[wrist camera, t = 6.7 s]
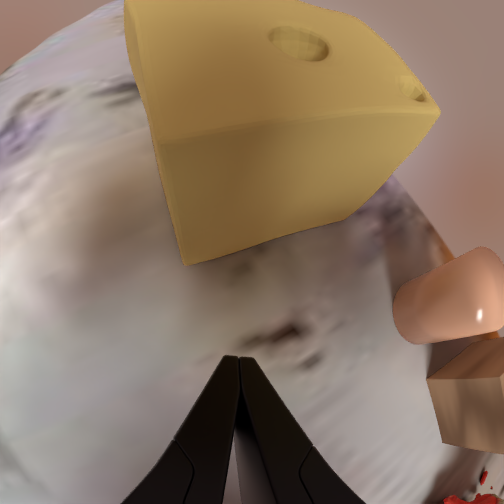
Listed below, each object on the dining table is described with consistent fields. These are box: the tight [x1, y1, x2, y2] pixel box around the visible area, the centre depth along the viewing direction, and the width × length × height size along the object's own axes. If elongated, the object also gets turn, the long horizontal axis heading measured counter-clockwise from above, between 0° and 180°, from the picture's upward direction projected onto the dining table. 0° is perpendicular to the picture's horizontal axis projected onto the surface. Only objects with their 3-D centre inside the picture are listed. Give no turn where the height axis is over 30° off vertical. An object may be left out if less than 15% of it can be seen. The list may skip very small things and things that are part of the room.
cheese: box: [124, 0, 441, 266], centre depth 13 cm, size 10×11×10 cm
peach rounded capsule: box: [393, 247, 504, 345], centre depth 14 cm, size 4×4×6 cm
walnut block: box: [426, 337, 504, 454], centre depth 12 cm, size 5×5×6 cm
